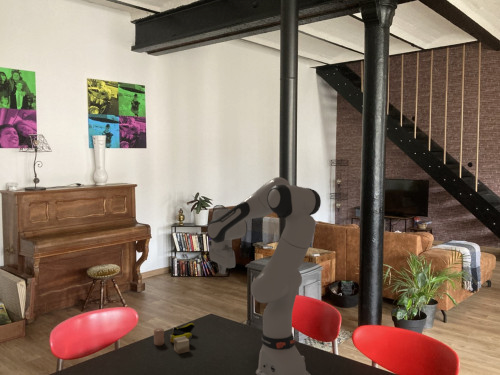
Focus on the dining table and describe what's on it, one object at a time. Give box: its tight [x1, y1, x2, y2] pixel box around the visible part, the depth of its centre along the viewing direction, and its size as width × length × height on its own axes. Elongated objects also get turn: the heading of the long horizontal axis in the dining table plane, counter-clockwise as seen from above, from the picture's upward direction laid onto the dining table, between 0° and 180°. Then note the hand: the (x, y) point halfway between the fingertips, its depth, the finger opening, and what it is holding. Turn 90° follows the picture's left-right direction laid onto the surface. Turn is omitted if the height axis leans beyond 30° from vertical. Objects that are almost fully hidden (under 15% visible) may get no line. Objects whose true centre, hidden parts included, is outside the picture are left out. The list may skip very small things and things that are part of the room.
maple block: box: [173, 336, 190, 355], centre depth 196 cm, size 5×5×5 cm
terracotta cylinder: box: [153, 327, 165, 347], centre depth 203 cm, size 4×4×6 cm
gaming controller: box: [169, 322, 196, 344], centre depth 208 cm, size 15×6×10 cm
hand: (222, 273), depth 209 cm, fingers closed
